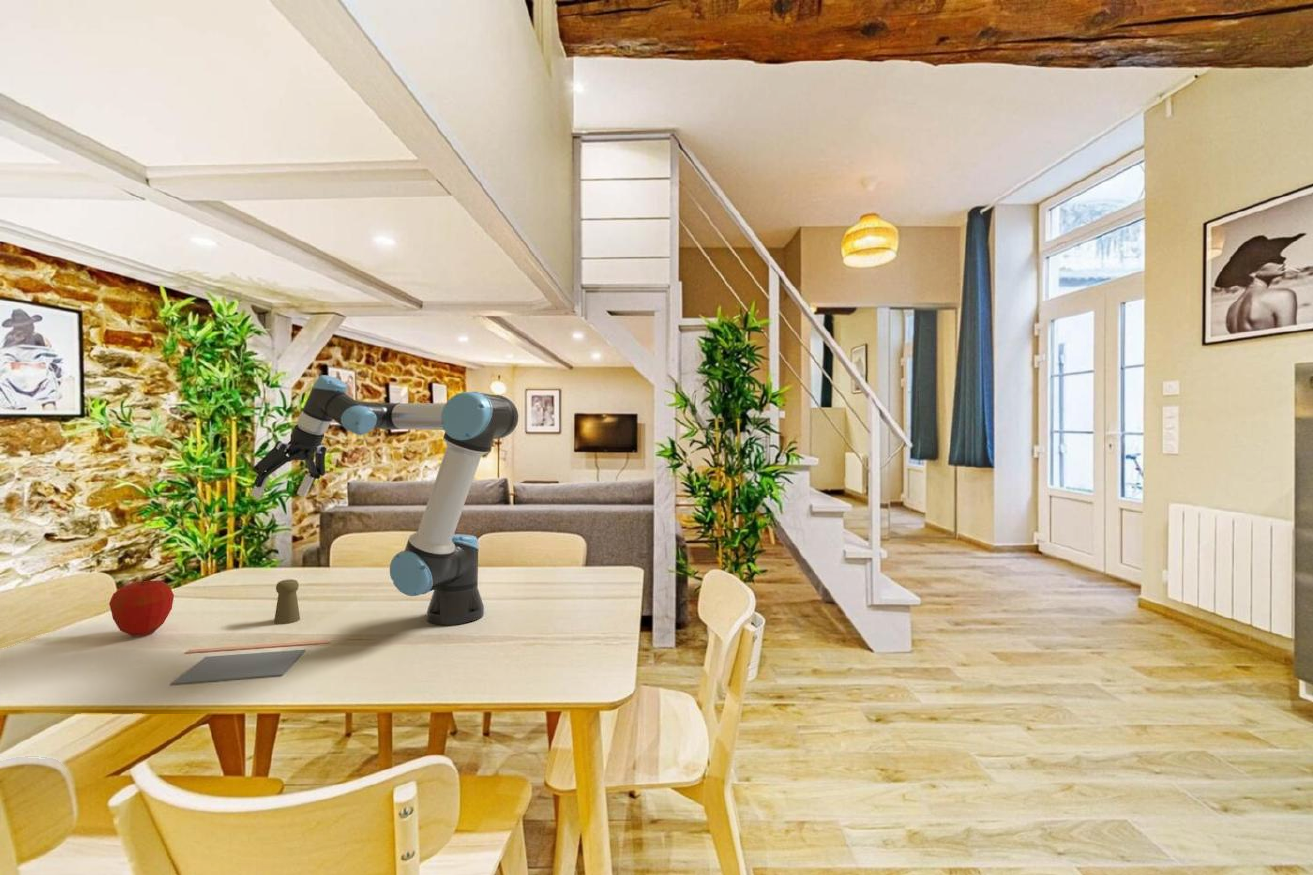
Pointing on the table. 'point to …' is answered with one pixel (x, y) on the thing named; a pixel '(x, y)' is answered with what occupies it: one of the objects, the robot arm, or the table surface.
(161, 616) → the apple
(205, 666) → the mat
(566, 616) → the table surface
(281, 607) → the cork
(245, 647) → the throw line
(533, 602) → the table surface
